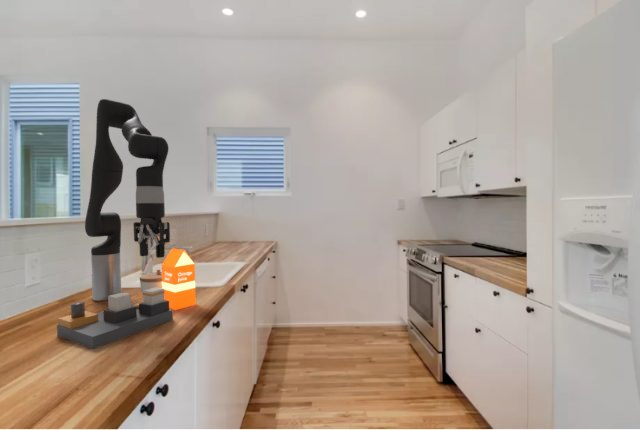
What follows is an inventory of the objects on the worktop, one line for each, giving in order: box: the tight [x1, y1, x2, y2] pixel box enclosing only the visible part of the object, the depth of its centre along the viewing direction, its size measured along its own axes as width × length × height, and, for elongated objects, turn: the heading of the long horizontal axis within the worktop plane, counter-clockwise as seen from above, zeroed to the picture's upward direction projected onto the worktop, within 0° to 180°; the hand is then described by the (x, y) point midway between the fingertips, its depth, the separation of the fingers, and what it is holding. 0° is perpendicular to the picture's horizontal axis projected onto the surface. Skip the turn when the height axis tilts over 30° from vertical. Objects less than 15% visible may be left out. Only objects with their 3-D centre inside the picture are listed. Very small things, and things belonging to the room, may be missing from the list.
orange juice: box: [161, 247, 197, 311], centre depth 110 cm, size 8×9×20 cm
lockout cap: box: [57, 301, 98, 329], centre depth 86 cm, size 7×7×5 cm
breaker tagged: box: [142, 287, 165, 305], centre depth 94 cm, size 4×4×4 cm
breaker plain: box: [107, 292, 132, 312], centre depth 89 cm, size 4×4×4 cm
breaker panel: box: [56, 300, 173, 350], centre depth 90 cm, size 18×22×6 cm
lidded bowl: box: [139, 269, 162, 294], centre depth 119 cm, size 13×13×11 cm
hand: (152, 256), depth 94 cm, fingers open, 7 cm apart
